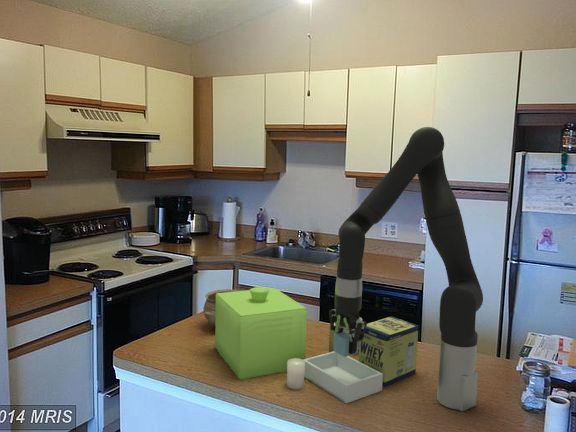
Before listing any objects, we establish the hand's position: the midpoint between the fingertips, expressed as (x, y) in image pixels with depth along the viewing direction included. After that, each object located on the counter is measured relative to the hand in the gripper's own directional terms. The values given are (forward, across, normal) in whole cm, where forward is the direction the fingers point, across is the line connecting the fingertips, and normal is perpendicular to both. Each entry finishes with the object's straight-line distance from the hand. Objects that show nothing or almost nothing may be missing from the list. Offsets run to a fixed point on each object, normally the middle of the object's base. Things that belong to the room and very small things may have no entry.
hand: (345, 349), depth 141 cm
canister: (+11, +29, +12) cm, 33 cm away
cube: (+1, 0, 0) cm, 1 cm away
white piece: (+11, +7, +12) cm, 18 cm away
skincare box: (+11, +14, -10) cm, 20 cm away
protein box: (+11, -2, -16) cm, 19 cm away
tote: (+10, +1, 0) cm, 11 cm away
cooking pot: (+11, +59, +6) cm, 61 cm away
